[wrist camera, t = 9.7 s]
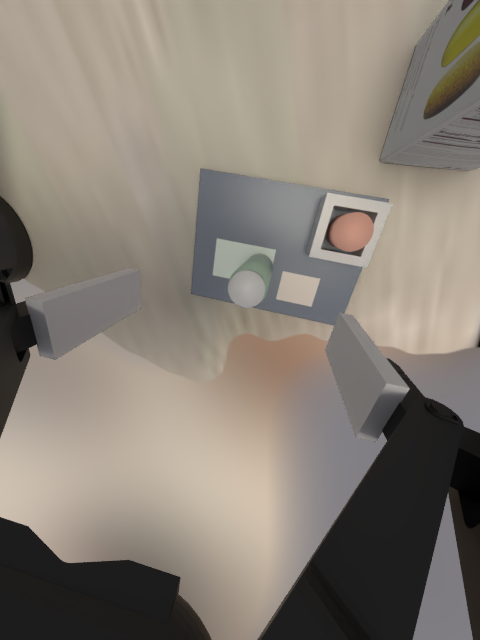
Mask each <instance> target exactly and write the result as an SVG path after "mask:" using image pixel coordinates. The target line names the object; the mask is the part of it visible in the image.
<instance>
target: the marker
mask: <svg viewBox="0 0 480 640" xmlns="http://www.w3.org/2000/svg"><path fill="white" fill-rule="evenodd" d="M272 271H273V264H272V261H271V260H270V258H269V257H268V256H266V255H264V254H254V255H252V256H251V257H250V258H249V259H248V260H247V261H245V262H244V263H243V264H242V265H241V266H240V267H239V268H238V269H237V270H236V271H235V272H234V273H233V274H232V275H231V277H230V279H229V283H228V294H229V296H230V298H231V300H232V301H233V302H234V303H235V304H236V305H238V306H240V307H244V308H250V307H254V306H256V305H257V304H259V303H260V302H261V301H262V300H263V299H264V298H265V296H266V294H267V291H268V287H269V283H270V279H271V275H272Z"/></svg>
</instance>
